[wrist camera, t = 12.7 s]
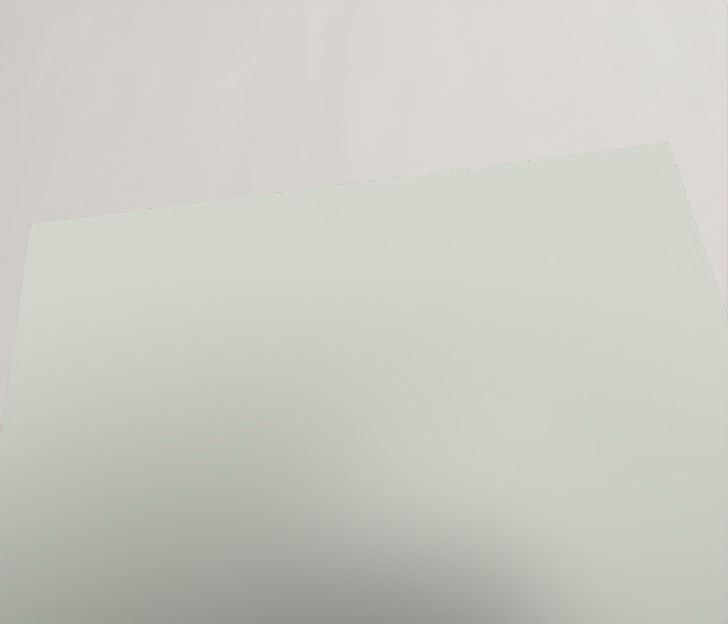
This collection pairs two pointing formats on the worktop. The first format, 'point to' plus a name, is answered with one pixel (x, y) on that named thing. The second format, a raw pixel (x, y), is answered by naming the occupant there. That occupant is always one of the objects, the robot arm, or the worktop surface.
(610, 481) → the pale green box
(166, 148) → the worktop surface
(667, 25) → the worktop surface
